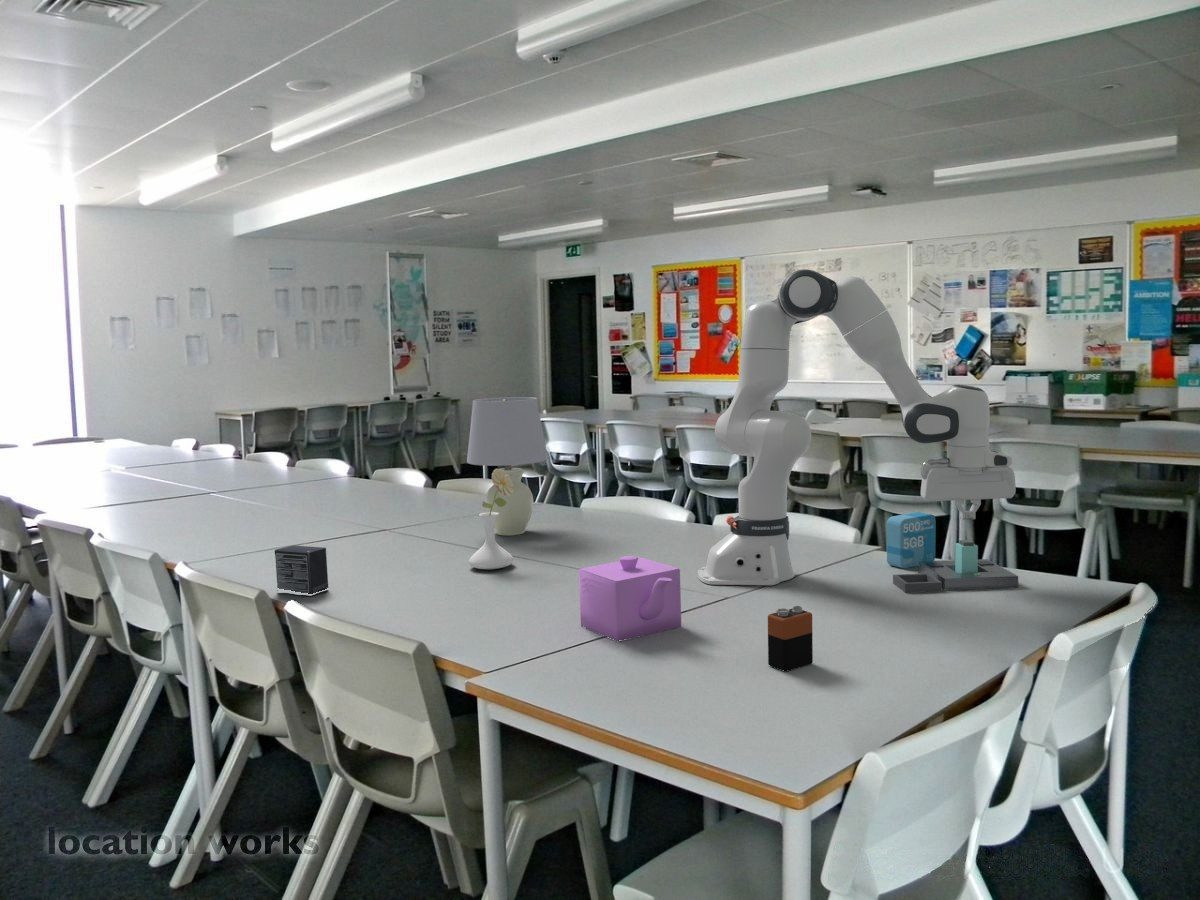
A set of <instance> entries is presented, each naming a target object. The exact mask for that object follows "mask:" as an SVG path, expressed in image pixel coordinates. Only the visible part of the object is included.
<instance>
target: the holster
mask: <svg viewBox="0 0 1200 900" xmlns="http://www.w3.org/2000/svg"><path fill="white" fill-rule="evenodd" d="M892 584H893V585H894V586H895V587H897V588H898V589H899V590H900V591H902V592H904V593H905V594H907V593H909V594H911V593H933V592H934V593H939V592H943V588H942V582H941V581H939V580H938V579H936V578H935V577H933V576H932V575H930V574H929V573H924V574H921V573H903V574H900V573H899V574H892Z"/></svg>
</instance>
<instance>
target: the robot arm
mask: <svg viewBox="0 0 1200 900" xmlns="http://www.w3.org/2000/svg"><path fill="white" fill-rule="evenodd" d="M877 295H878V294H876V293H875V291H874V290H873V289H872V287H870V286H869V285H868V283H867V282H865V280H864V279H863V278H861V277H857V276H848V277H845V278H842V279H840V280H838V281H837V282H836V281H835V280H833V279H831V278H830V277H827V276H826V275H824V274H822V273H820V272H818V271H815V270H812V269H805V268H804V269H797V270H795V271H793V272H792V273H790V274H788V275H787V276H786V277H785V279H784V280H783V281H782V284H781V286H780V288H779V291H778V294H777V296H776V297H775V298H774V299H771V300H760V301H757V302H755V303H753V304H751V305H749V307H748V308H747V310H746V312H745V316H744V319H743V320H744V321H743V326H742V331H741V332H742V333H741V339H740V352H739V353H740V354H739V355H740V357H739V369H738V371H739V374H738V381H737V387H736V389H735V392H734V396H733V399H732V400H731V403H730V404H729V406H728V408H727V409H726V410H725V411H724V412H723V413H722V414H721V415H720V416H719V417H718V419H717V421H716V423H715V426H714V438H715V441H716V443H717V445H718V446H719V447H720V448H721V449H722V450H724V451H726V452H729V453H731V454H733V455H737V456H743V457H753V464H752V468H751V470H750V473H749V474H747V475H746V476H745V477H743V478H742V479H741V481H740V482H739V484H738V488H737V489H738V515H737V516H736V517H733V516H732V515H728V516H727V517H726V519H725V521H726V524H727V525H728V526H729V529H730V532H729V533H728V534H727V535H726V536H724V537H723V538H721V539H720V540H719V541H717V542H716V544H714V545H712V546H711V547H710V549H709V551H708V553H707V554H708V555H707V559H706V564H705V565H706V566H702V567H700V568H699V569H698V570H697V578H698V580H700V581H701V582H702V583H705V584H708V585H714V586H716V585H723V586H724V585H727V586H728V585H729V586H730V585H732V586H734V585H735V586H736V585H737V586H738V585H739V586H775V585H777V584H779V583H781V582H784V581H785V582H786V581H788V580H791V579H793V578H794V577H795V572H794V569H793V566H792V561H791V555H790V549H789V547H790V546H789V540H790V539H789V538H790V520H789V516H787V515H788V514H787V511H788V509H787V507H788V504H787V503H788V501H787V500H788V499H787V498H788V483H789V479H790V476H791V472H792V471H793V467H794V466H795V464H796V462H797V461H798V460H799V459H800V458H801V457H802V456H803V455H804V454H806V452H807V451H808V450H809V448H810V445H811V442H812V430H811V427H810V424H809V422H808V420H806V419H805V418H804V417H803V416H800V415H798V414H795V413H793V412H789V411H784V410H781V411H780V410H771V407H772V404H773V400H774V399H775V397H776V395H777V394H778V393H780V392H781V391H783V390H784V389H785V388H786V386H787V384H788V381H789V366H790V365H789V363H790V362H789V361H790V336H791V330H792V327H793V326H794V325H797V324H801V323H805V322H807V321H810V320H813V319H815V318H817V317H819V316H825V317H827V318H829V319H830V320H831V321H833V323H834V324H835V326H836V327H837V328H838V330H839V332H840V334H841V335H842V336H843V338H844V340H845V342H846V343H847V345H848V346H849V347H850V348H851V350H852V351H853V353H855V354H856V355H857V357H858V358H859V359H860V360H861V361H862V362H864V363H865V364H867V365H869V366H870V367H871V368H873V369H874V370H875V371H876V372H877V373H878V374H879V375H880V376H881V378H882V379H883V380H884V382H885V384H886V385H887V387H888V388H889V390H890V392H891V393H892V395H893V397H894V398H895V399H896V401H897V403H898V405H899V407H900V412H901V413H900V414H901V422H902V426H903V428H904V430H905V432H906V434H907V435H908V437H909V438H910V439H911V440H913V441H914V442H916V443H919V444H923V445H930V444H932V445H933V444H934V443H938V442H944V441H946V458H940V459H939V458H937V459H934V458H933V459H932V458H929V459H928V460H926V461H925V462H923V463H922V465H921V469H920V470H921V472H920V473H921V474H920V475H921V477H922V478H921V484H920V485H921V486H920V497H921V498H923V500H925V501H927V502H942V501H945V502H946V501H948V502H950V501H954V505H955V506H956V509H957V510H958V511H959V517H958V518H959V519H960V520H962V521H963V520H964V521H967V520H969V521H970V520H976V512H978V510H979V508H980V506H981V505H982V502H981V501H982V500H995V499H996V500H998V499H1013V497H1014V496H1015V495H1016V492H1017V491H1016V475H1015V471H1014V470H1013V468H1012V467H1010V466H1012V464H1013V458H1012V457H1011V456H1010V455H1006V454H1004V453H999V452H998V451H995V450H992V449H991V450H990V445H991V443H990V440H989V429H990V426H991V416H990V415H991V412H990V411H991V410H990V401H989V396H988V394H987V393H986V391H985V390H983V389H982V388H980V387H977V386H973V385H966V384H953V385H951V386H950V387H949V388H948V389H946V390H943V391H942V392H940V393H939V394H936V395H934V396H931V395H929V394H928V393H927V392H926V390H924V388H923V387H922V385H921V384H920V382H919V381H918V379H917V377H916V376H915V374H914V373H913V371H912V369H911V368H910V366H909V364H908V362H907V361H906V359H905V356H904V353H903V348H902V342H901V337H900V333H899V332H898V329H897V326H896V324H895V322H894V320H893V318H892V316H891V314H890V313H889V311H888V310H887V308H886V305H884V303H883V302H882V300H881V299H880V297H878V296H877ZM969 500H970V503H971V507H970V508H969V510H965V508H964V506H963V505H965V501H969Z"/></svg>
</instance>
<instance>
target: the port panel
mask: <svg viewBox="0 0 1200 900" xmlns="http://www.w3.org/2000/svg"><path fill="white" fill-rule="evenodd" d="M924 573H929V574H930V575H932V576H933V577H935V578H936V579H938V580H939V581H941V582H942V590H944V591H953V590H954V591H955V590H958V589H959V590H977V589H978V590H981V588H982V589H984V590H985V588H986V589H1006V588H1005V587H1013V588H1018V587H1019V575H1017V574H1015V573H1013V572H1011V571H1010V570H1008V569H1006V568H1004V567H1002V566H1000V565H999V564H997V563H995V562H993V561H991V560H989V559H985V558H984V559H979V558H978V572H970V573H957V572H955V559H954V560H953V559H952V560H934V561H924V562H919V566H918V574H924ZM959 590H958V591H959Z"/></svg>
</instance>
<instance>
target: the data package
mask: <svg viewBox="0 0 1200 900" xmlns="http://www.w3.org/2000/svg"><path fill="white" fill-rule="evenodd" d="M936 527H937V526H936V517H935V515H934V514H930V513H925V512H919V511H917V512H916V511H915V512H911V513H904V514H899V515H893V516H890V517H889V518H888V519H887V521H886V562H887V565H889V566H892V567H896V568H900V569H909V568H914V567H919V562H924V561H935V559H936Z"/></svg>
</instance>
